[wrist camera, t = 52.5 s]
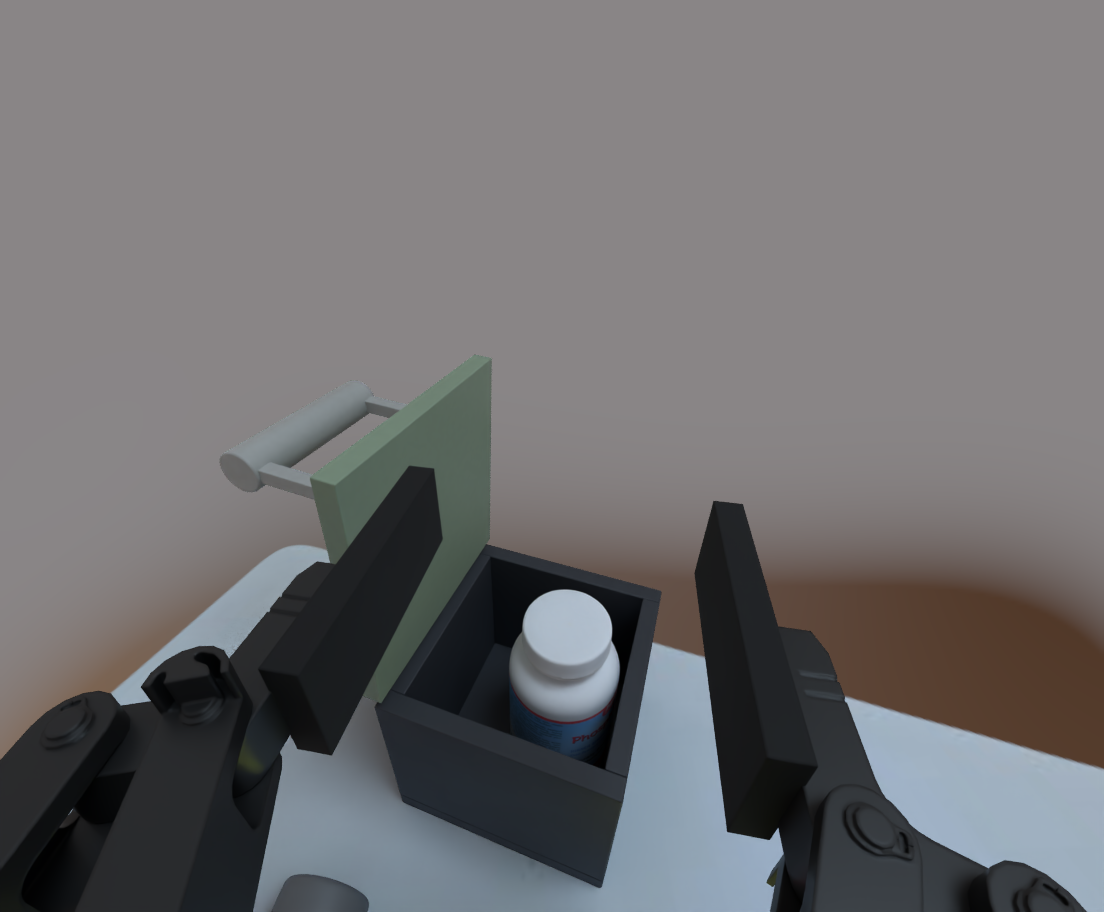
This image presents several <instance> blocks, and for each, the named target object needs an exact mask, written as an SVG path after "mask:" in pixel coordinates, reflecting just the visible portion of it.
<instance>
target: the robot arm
mask: <svg viewBox="0 0 1104 912" xmlns="http://www.w3.org/2000/svg"><path fill="white" fill-rule="evenodd" d="M442 540H443V536H442V528H441V520H440V511H439V503H438V495H437V487H436V479H435V471H434V468H426V467H418V466H408V468H407V469H406V470H405V472H404V473H403V474H402V476H401V477H400V478H399V480H398V481H397V482H396V484H395V485H394V486H393V488H392V489H391V491H390V492H389V493H388V495H387V496H386V497H385V499H384V500H383V501H382V503H381V504H380V505H379V507H378V508H377V509H376V511H375V512H374V513H373V515H372V516H371V517H370V519H369V520H368V521H367V523H366V524H365V525H364V527H363V528H362V529H361V531H360V532H359V534H358V535H357V536H356V538H355V539H354V540H353V542H352V543H351V544H350V546H349V547H348V548H347V550H346V551H345V552H344V554H343V555H342V556H341V558H340V559H339V560H338V562H337V563H336V564H331V563H324V562H316V563H314V564H313V565H312V566H310V567H309V568H307V569H306V570H304V571H303V572H302V573H300V574H299V575H297V576H296V577H295V579H294V580H293V581H292V582H291V584H290V585H289V586H288V587H287V588H286V590H285V591H284V592H283V593H282V597H279V598H278V599H277V601H276V602H275V603H274V604H273V606H272V607H271V608H270V612H267V613H266V614H265V615H264V617H263V618H262V619H261V620H260V622H259V623H258V624H257V625H256V626H255V628H254V629H253V630H252V631H251V633H250V634H249V635H248V636H247V637H246V639H245V640H244V641H243V642H242V644H241V645H240V646H239V647H238V649H237V650H236V651H235V652H234V653H233V655H232V656H231V657H230V658H228V656H227V655H226V653H225V651H224V650H222V649H219V648H217V647H215V646H198V647H195V648H192V649H188V650H185V651H182V652H180V653H178V654H176V655H175V656H173V657H171V658H169V659H167V660H166V661H164V662H163V663H162V664H161V665H160V666H158V667H157V668H156V669H155V670H154V671H153V672H151V673H150V675H149V676H148V678H147V679H146V680H145V682H144V683H143V685H142V686H141V688H142V689H143V691H144V692H145V693H146V695H147V696H148V698H149V699H150V700H151V701H149V702H143V703H136V704H129V705H122V706H121V705H120V704H119V703H118V702H117V701H116V699H115V698H114V697H113V696H112V694H111V693H106V692H102V691H95V692H88V693H83V694H80V695H78V696H75V697H73V698H70V699H68V700H65V701H64V702H62V703H60V704H59V705H57V706H56V707H54V708H52V709H51V710H49V711H47V712H46V713H45V714H44V715H43V716H42V717H41V718H39V719H38V720H37V721H36V722H35V723H34V724H33V725H32V726H31V727H30V728H29V729H28V730H27V731H26V732H25V733H24V734H23V736H22V737H21V738H20V739H19V740H18V741H17V742H16V743H15V744H14V746H13V747H12V748H11V749H10V750H9V751H8V752H7V753H6V754H5V755H4V757H3V758H2V759H1V760H0V912H253V908H254V903H255V898H256V893H257V889H258V884H259V879H260V874H261V869H262V864H263V859H264V854H265V849H266V844H267V839H268V834H269V829H270V824H271V820H272V815H273V810H274V805H275V800H276V795H277V790H278V785H279V780H280V775H281V770H282V756H281V754H280V751H281V749H282V747H283V746H284V744H285V742H286V741H287V739H288V737H289V736H290V735H291V737H292V739H293V741H294V743H295V745H296V747H297V749H301V750H306V751H311V752H317V753H322V754H327V755H332V754H333V752H334V750H335V748H336V746H337V744H338V743H339V741H340V739H341V737H342V735H343V733H344V731H345V729H346V727H347V725H348V723H349V721H350V719H351V717H352V715H353V713H354V711H355V709H356V708H357V706H358V704H359V702H360V700H361V698H362V696H363V694H364V692H365V690H366V688H367V686H368V684H369V682H370V680H371V678H372V676H373V674H374V673H375V671H376V669H377V667H378V665H379V663H380V661H381V659H382V657H383V655H384V653H385V651H386V649H387V647H388V645H389V643H390V641H391V639H392V637H393V636H394V634H395V632H396V630H397V628H398V626H399V624H400V622H401V620H402V618H403V616H404V614H405V612H406V610H407V608H408V606H409V604H410V602H411V601H412V599H413V597H414V595H415V593H416V591H417V589H418V587H419V585H420V583H421V581H422V579H423V577H424V575H425V573H426V571H427V569H428V567H429V566H430V564H431V562H432V560H433V558H434V556H435V554H436V552H437V550H438V548H439V546H440V544H441V542H442ZM695 580H696V588H697V596H698V604H699V612H700V619H701V628H702V635H703V644H704V652H705V660H706V668H707V676H708V684H709V692H710V699H711V707H712V715H713V723H714V731H715V739H716V747H717V755H718V763H719V771H720V779H721V786H722V794H723V802H724V810H725V818H726V826H727V832H730V833H736V834H741V835H746V836H751V837H756V838H761V839H767V840H770V839H771V837H772V836H773V834H774V833H775V831H776V830H777V828H779V833H780V838H781V843H782V848H783V852H784V855H783V856H782V857H781V859H780V860H779V862H778V863H777V864H776V866H775V867H774V868H773V870H772V871H771V874H770V876H769V878H768V880H767V883H768V884H769V885H771V886H772V887H773V886H774V885H775V888H774V893H773V899H772V904H771V910H770V912H1087V911H1086V910H1085V909H1084V908H1083V907H1082V906H1081V905H1080V904H1079V903H1078V902H1077V900H1076V899H1075V898H1074V897H1073V896H1072V895H1071V894H1070V893H1069V892H1068V891H1067V890H1065V889H1064V888H1063V887H1062V886H1060V885H1059V884H1058V883H1057V882H1055V881H1054V880H1053V879H1051V878H1050V877H1049V876H1048V875H1046V874H1045V873H1042V872H1040V871H1038V870H1036V869H1034V868H1032V867H1030V866H1028V865H1026V864H1024V863H1019V862H1013V861H1006V860H1004V861H1002V862H1000V863H998V864H995V865H993V866H991V867H990V868H986V867H984V866H982V865H980V864H978V863H976V862H974V861H972V860H971V859H969V858H967V857H965V856H963V855H961V854H959V853H957V852H955V851H953V850H951V849H949V848H947V847H945V846H943V845H941V844H939V843H937V842H935V841H933V840H931V839H930V838H928V837H926V836H925V835H923V834H922V833H920V832H918V831H917V830H916V829H915V828H913V827H912V826H911V825H910V824H909V822H908V821H907V819H906V818H905V817H904V816H903V815H902V814H901V812H900V811H899V810H898V809H897V808H896V807H895V806H894V805H893V804H892V802H890V801H889V800H887V799H886V798H885V796H884V795H883V793H882V792H881V789H880V787H879V785H878V783H877V781H876V779H875V777H874V774H873V771H872V769H871V766H870V763H869V760H868V758H867V755H866V752H865V750H864V747H863V744H862V742H861V739H860V736H859V734H858V731H857V728H856V726H855V723H854V720H853V718H852V715H851V712H850V710H849V707H848V704H847V703H846V702H845V696H844V694H843V691H842V688H841V686H840V683H839V682H837V675H836V672H835V670H834V667H833V664H832V662H831V659H830V656H829V654H828V652H827V651H826V650H825V648H824V647H823V646H822V645H821V643H820V642H819V641H818V640H817V639H816V638H815V636H814V635H813V633H812V632H811V631H806V630H798V629H792V628H785V627H778V625H777V622H776V618H775V614H774V611H773V607H772V604H771V601H770V597H769V593H768V590H767V586H766V583H765V580H764V576H763V573H762V569H761V566H760V562H759V559H758V555H757V552H756V548H755V545H754V541H753V539H752V535H751V531H750V528H749V524H748V521H747V517H746V514H745V510H744V507H743V504H737V503H728V502H719V501H714V502H713V505H712V510H711V513H710V517H709V521H708V524H707V528H706V532H705V535H704V539H703V543H702V547H701V550H700V554H699V558H698V562H697V566H696V570H695ZM72 809H73V810H72ZM71 810H72V812H71ZM70 812H71V813H70ZM69 813H70V814H69ZM68 814H69V815H68Z"/></svg>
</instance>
